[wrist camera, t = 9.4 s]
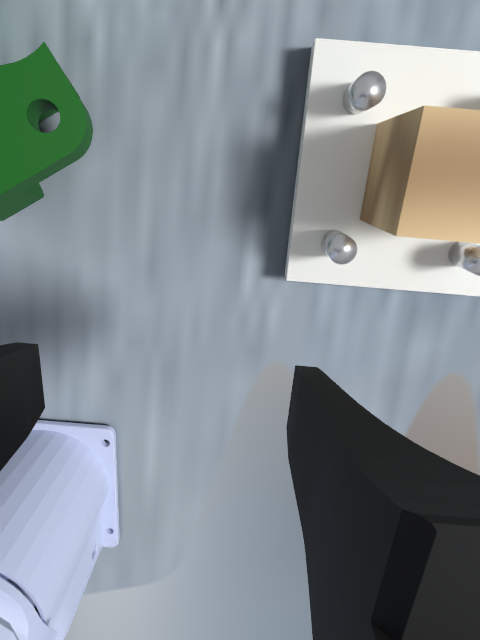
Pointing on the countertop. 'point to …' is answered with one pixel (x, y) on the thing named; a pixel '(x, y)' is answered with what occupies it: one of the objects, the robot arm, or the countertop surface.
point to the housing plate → (353, 164)
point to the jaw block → (426, 175)
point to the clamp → (37, 128)
